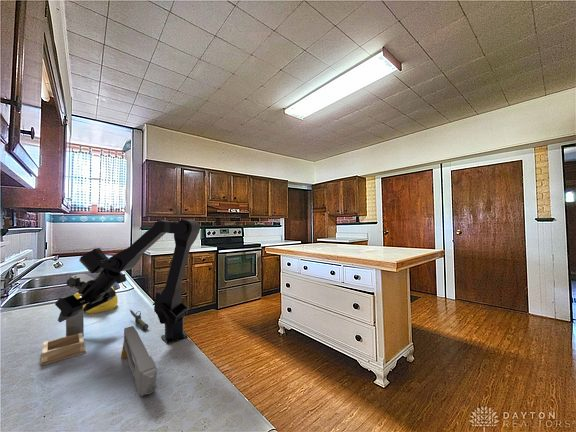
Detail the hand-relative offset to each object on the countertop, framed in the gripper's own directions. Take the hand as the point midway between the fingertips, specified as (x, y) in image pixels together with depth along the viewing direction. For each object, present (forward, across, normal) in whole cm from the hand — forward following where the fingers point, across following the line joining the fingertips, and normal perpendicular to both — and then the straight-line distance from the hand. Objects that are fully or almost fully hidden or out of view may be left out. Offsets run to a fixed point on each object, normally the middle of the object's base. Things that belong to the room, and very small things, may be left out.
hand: (72, 315), depth 86 cm
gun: (-20, +20, +31) cm, 42 cm away
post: (+4, 0, +6) cm, 7 cm away
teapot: (+16, -27, -5) cm, 32 cm away
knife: (-6, -11, +16) cm, 20 cm away
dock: (0, +10, +10) cm, 14 cm away
